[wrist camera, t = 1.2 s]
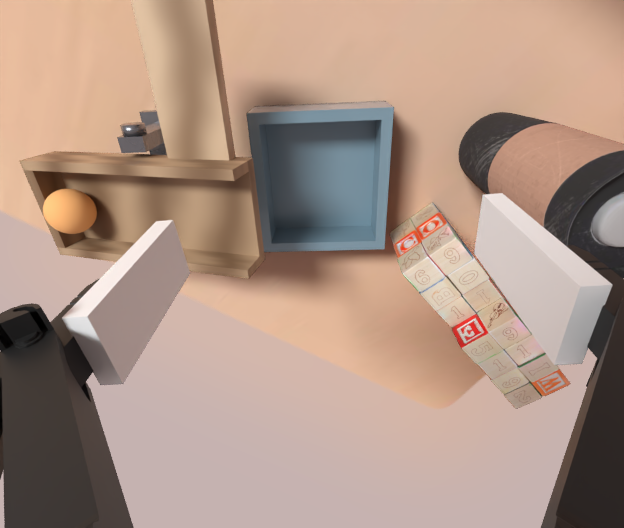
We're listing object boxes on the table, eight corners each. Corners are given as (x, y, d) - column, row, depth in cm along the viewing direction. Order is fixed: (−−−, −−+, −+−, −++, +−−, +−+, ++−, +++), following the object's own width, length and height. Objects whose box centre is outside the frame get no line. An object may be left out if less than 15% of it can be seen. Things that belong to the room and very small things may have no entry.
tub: (269, 232, 44) (263, 252, 39) (255, 106, 37) (246, 113, 32) (378, 229, 43) (384, 249, 39) (385, 100, 36) (393, 107, 32)
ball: (58, 182, 33) (23, 197, 30) (98, 182, 33) (66, 197, 29) (74, 222, 35) (42, 240, 32) (111, 223, 35) (83, 242, 31)
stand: (175, 235, 44) (138, 279, 35) (143, 110, 37) (89, 127, 28) (223, 233, 44) (199, 277, 35) (201, 108, 37) (164, 124, 28)
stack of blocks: (386, 232, 43) (407, 290, 33) (431, 199, 41) (470, 250, 30) (476, 337, 51) (517, 411, 40) (518, 314, 49) (573, 386, 38)
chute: (109, 227, 40) (60, 254, 35) (36, 16, 31) (-47, 9, 25) (277, 244, 35) (248, 278, 30) (252, -5, 25) (203, -19, 20)
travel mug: (484, 197, 41) (604, 302, 23) (440, 152, 38) (537, 231, 21) (546, 144, 38) (736, 220, 20) (502, 91, 35) (675, 125, 18)
